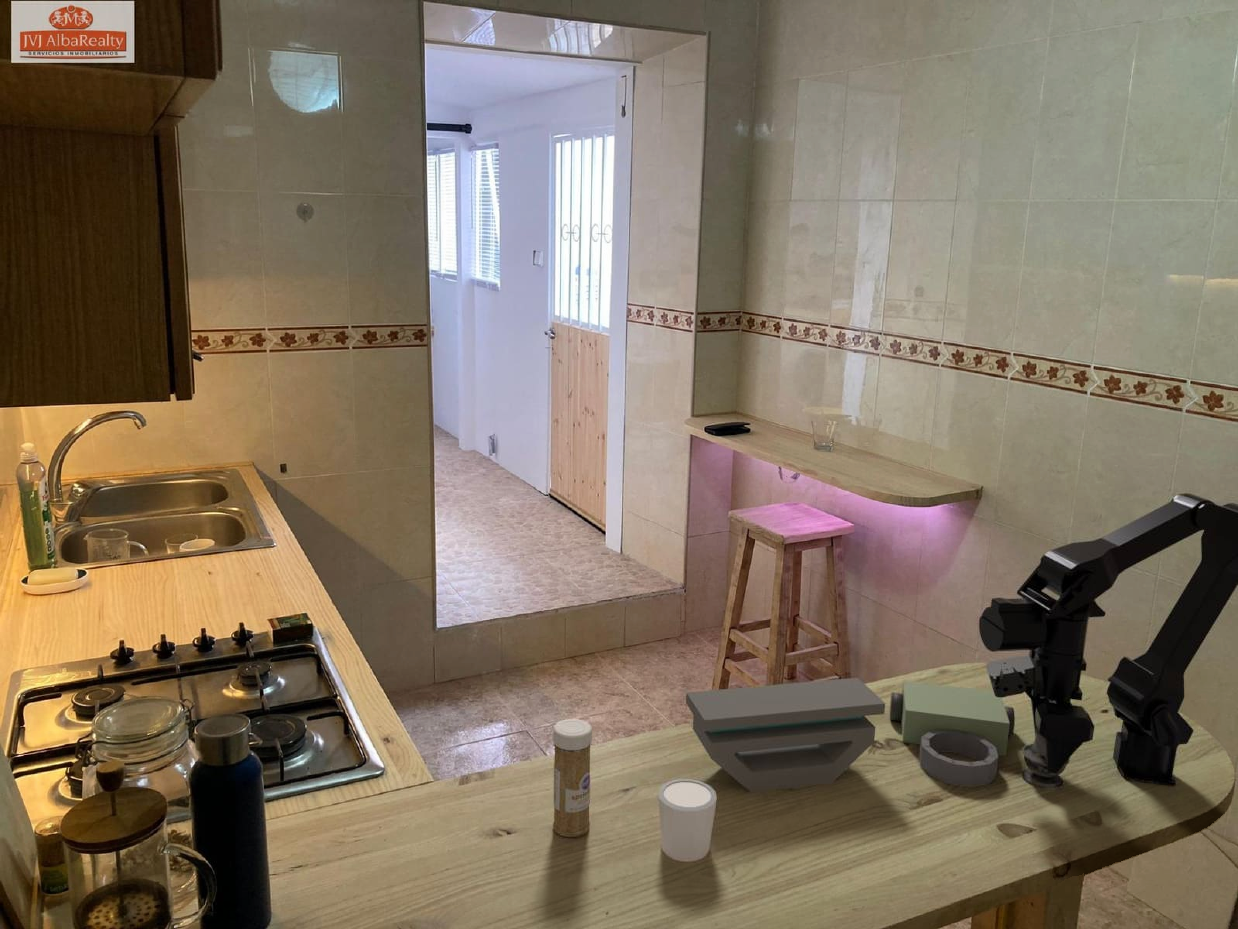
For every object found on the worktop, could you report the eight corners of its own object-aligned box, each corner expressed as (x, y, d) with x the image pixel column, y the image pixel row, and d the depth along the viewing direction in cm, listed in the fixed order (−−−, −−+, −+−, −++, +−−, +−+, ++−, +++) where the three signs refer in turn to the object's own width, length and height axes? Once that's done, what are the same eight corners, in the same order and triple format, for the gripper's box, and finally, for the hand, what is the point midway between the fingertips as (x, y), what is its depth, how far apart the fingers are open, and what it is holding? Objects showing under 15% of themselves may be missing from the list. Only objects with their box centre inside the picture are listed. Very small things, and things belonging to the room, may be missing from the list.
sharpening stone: (852, 748, 137) (857, 677, 135) (878, 777, 130) (885, 703, 127) (683, 766, 131) (686, 692, 129) (700, 797, 124) (704, 720, 122)
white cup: (697, 872, 109) (700, 817, 108) (645, 852, 113) (647, 798, 111) (724, 842, 115) (726, 789, 113) (673, 823, 118) (675, 771, 117)
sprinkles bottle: (582, 842, 114) (584, 738, 111) (546, 834, 115) (547, 732, 112) (595, 821, 118) (597, 720, 115) (560, 813, 120) (561, 714, 117)
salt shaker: (1071, 793, 127) (1082, 709, 124) (1023, 787, 128) (1034, 704, 125) (1060, 770, 132) (1071, 689, 130) (1015, 765, 134) (1025, 685, 131)
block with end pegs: (1007, 724, 145) (1011, 693, 144) (1029, 795, 126) (1033, 760, 125) (889, 709, 149) (892, 679, 148) (893, 776, 130) (896, 742, 129)
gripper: (986, 614, 137) (974, 715, 140) (1004, 668, 119) (991, 782, 122) (1070, 622, 134) (1057, 725, 138) (1102, 679, 116) (1085, 795, 120)
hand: (1045, 754), depth 129 cm, fingers open, 9 cm apart
